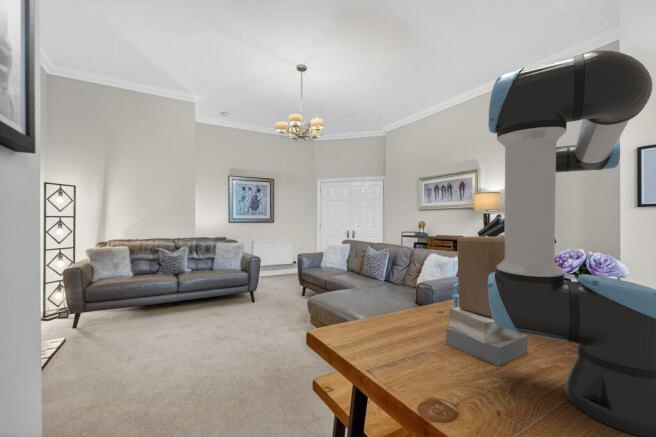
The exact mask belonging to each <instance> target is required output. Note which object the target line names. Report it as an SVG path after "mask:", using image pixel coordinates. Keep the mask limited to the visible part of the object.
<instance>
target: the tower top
mask: <svg viewBox="0 0 656 437" xmlns="http://www.w3.org/2000/svg"><path fill="white" fill-rule="evenodd" d="M449 327H453V328H455V329H457V330H459V331H461V332H463V333H465V334H466V335H468V336H470V337H472V338H474V339H476V340H478V341H480V342H482V343H484V344H486V343H493V342H499V341H506V340H513V339H519V338H522V334H523V333H518V332H516V331H512V330H508V329H504V328H501V327H499V326H498V325H497V324H496V323H495V322H494V320H493V318H492V317H490V316H486V315H482V314H478V313H474V312H470V311H466V310H463V309H461V308H460V307H458V306H457V308H454V307H449Z"/></svg>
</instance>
